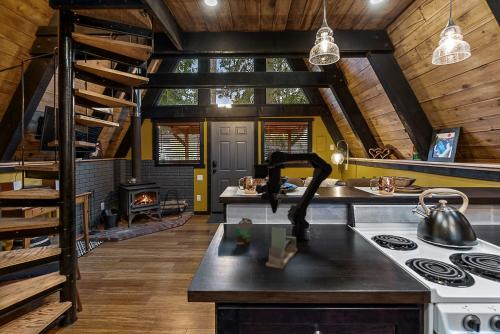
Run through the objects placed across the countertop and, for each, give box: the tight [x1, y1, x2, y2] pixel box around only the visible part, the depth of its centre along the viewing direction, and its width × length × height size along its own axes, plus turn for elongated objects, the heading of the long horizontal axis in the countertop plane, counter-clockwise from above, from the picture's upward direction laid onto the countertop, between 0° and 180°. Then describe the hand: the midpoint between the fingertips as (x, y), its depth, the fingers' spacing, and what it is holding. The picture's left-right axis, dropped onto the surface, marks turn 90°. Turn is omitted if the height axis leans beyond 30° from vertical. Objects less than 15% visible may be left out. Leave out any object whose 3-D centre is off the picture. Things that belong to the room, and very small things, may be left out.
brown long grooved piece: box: [265, 235, 298, 270], centre depth 104 cm, size 20×6×6 cm, turn 155°
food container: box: [235, 217, 254, 247], centre depth 121 cm, size 12×6×10 cm, turn 168°
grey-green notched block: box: [271, 226, 287, 257], centre depth 99 cm, size 3×5×10 cm, turn 65°
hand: (274, 213), depth 123 cm, fingers closed
